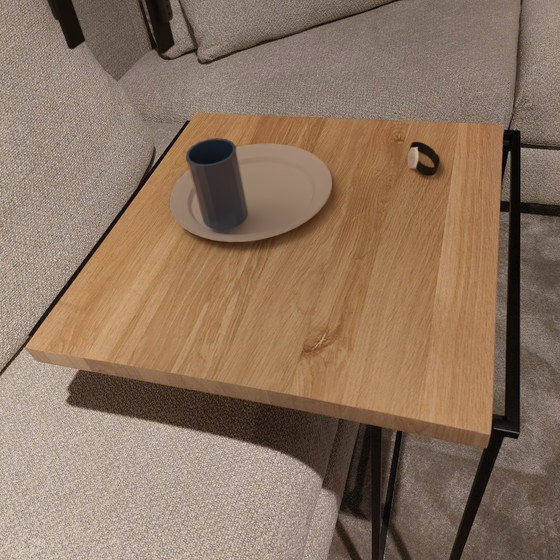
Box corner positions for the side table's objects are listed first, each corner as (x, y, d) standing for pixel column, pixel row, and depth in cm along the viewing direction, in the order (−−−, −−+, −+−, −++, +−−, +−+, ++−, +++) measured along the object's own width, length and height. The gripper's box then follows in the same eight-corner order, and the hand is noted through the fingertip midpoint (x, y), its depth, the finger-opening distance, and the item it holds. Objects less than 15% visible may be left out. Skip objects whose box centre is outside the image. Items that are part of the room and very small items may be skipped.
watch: (402, 155, 96) (402, 136, 94) (430, 150, 96) (431, 131, 94) (415, 181, 91) (416, 161, 88) (445, 176, 91) (447, 156, 88)
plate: (214, 146, 105) (212, 137, 104) (352, 161, 97) (352, 151, 95) (142, 236, 89) (139, 226, 88) (300, 264, 80) (299, 253, 79)
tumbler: (195, 226, 86) (177, 162, 78) (215, 199, 90) (200, 136, 83) (236, 233, 84) (222, 168, 76) (255, 205, 88) (243, 140, 80)
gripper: (-60, -144, 61) (24, 55, 76) (142, -164, 53) (193, 64, 67) (-11, -159, 66) (59, 31, 81) (181, -179, 58) (221, 37, 72)
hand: (120, 47), depth 74 cm, fingers open, 13 cm apart
